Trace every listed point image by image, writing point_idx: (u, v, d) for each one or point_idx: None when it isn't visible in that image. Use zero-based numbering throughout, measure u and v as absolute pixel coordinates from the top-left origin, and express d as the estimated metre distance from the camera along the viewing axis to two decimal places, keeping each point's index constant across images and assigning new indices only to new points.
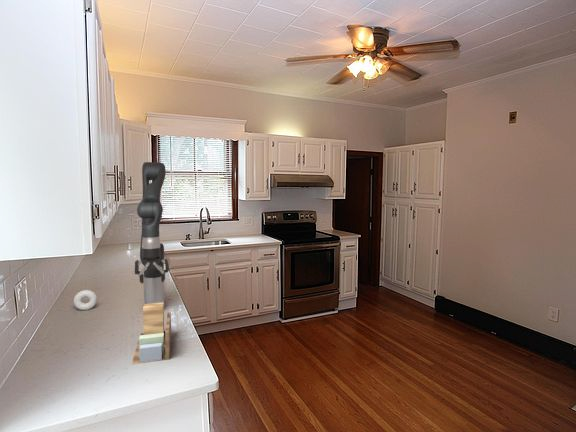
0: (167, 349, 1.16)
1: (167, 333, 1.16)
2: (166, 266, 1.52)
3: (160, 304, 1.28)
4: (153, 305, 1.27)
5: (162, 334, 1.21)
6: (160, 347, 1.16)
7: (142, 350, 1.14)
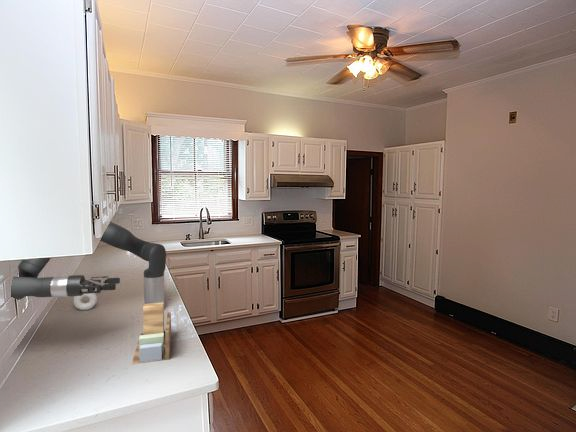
0: (167, 349, 1.16)
1: (167, 333, 1.16)
2: None
3: (160, 304, 1.28)
4: (153, 305, 1.27)
5: (162, 334, 1.21)
6: (160, 347, 1.16)
7: (142, 350, 1.14)
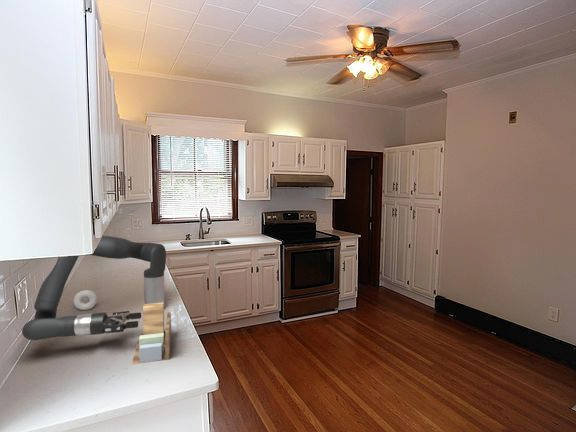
0: (167, 349, 1.16)
1: (167, 333, 1.16)
2: None
3: (160, 304, 1.28)
4: (153, 305, 1.27)
5: (162, 334, 1.21)
6: (160, 347, 1.16)
7: (142, 350, 1.14)
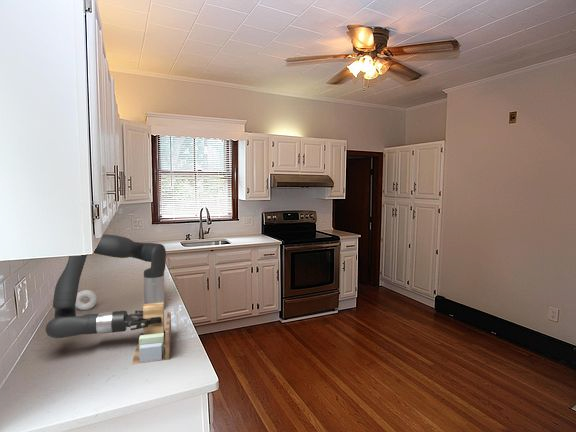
0: (167, 349, 1.16)
1: (167, 333, 1.16)
2: None
3: (160, 304, 1.28)
4: (153, 305, 1.27)
5: (162, 334, 1.21)
6: (160, 347, 1.16)
7: (142, 350, 1.14)
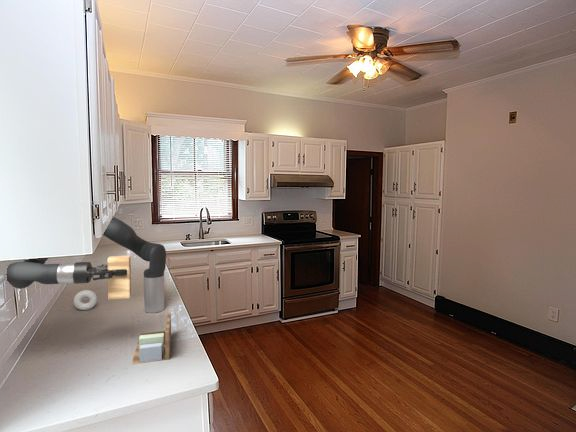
0: (167, 349, 1.16)
1: (167, 333, 1.16)
2: None
3: (126, 256, 1.23)
4: (119, 257, 1.22)
5: (162, 334, 1.21)
6: (160, 347, 1.16)
7: (142, 350, 1.14)
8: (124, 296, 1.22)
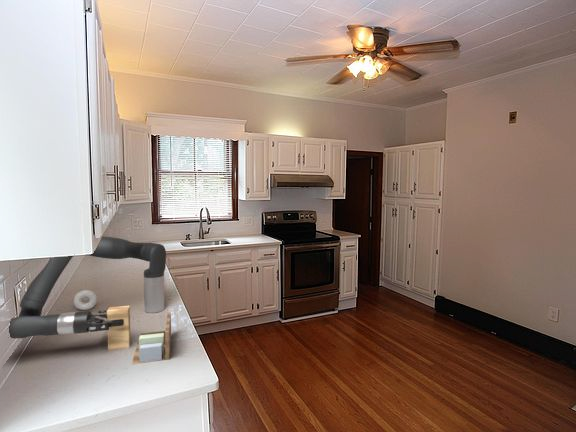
0: (167, 349, 1.16)
1: (167, 333, 1.16)
2: None
3: (125, 307, 1.25)
4: (118, 308, 1.24)
5: (162, 334, 1.21)
6: (160, 347, 1.16)
7: (142, 350, 1.14)
8: (124, 347, 1.24)
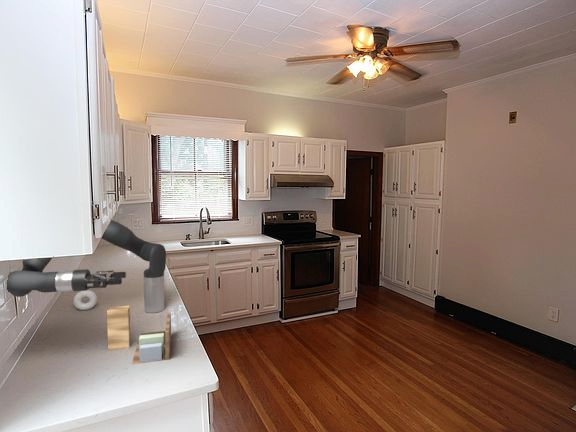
0: (167, 349, 1.16)
1: (167, 333, 1.16)
2: None
3: (125, 307, 1.25)
4: (118, 308, 1.24)
5: (162, 334, 1.21)
6: (160, 347, 1.16)
7: (142, 350, 1.14)
8: (124, 347, 1.24)
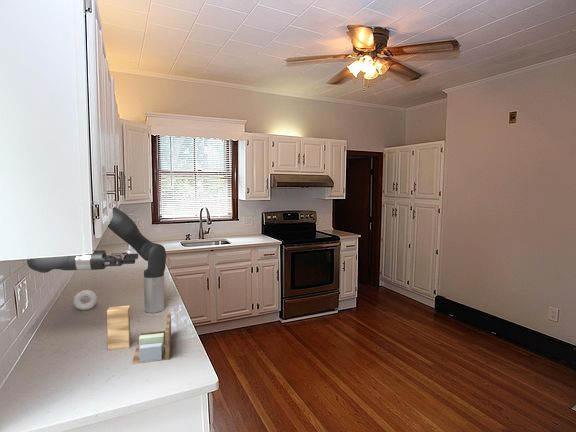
0: (167, 349, 1.16)
1: (167, 333, 1.16)
2: None
3: (125, 307, 1.25)
4: (118, 308, 1.24)
5: (162, 334, 1.21)
6: (160, 347, 1.16)
7: (142, 350, 1.14)
8: (124, 347, 1.24)
